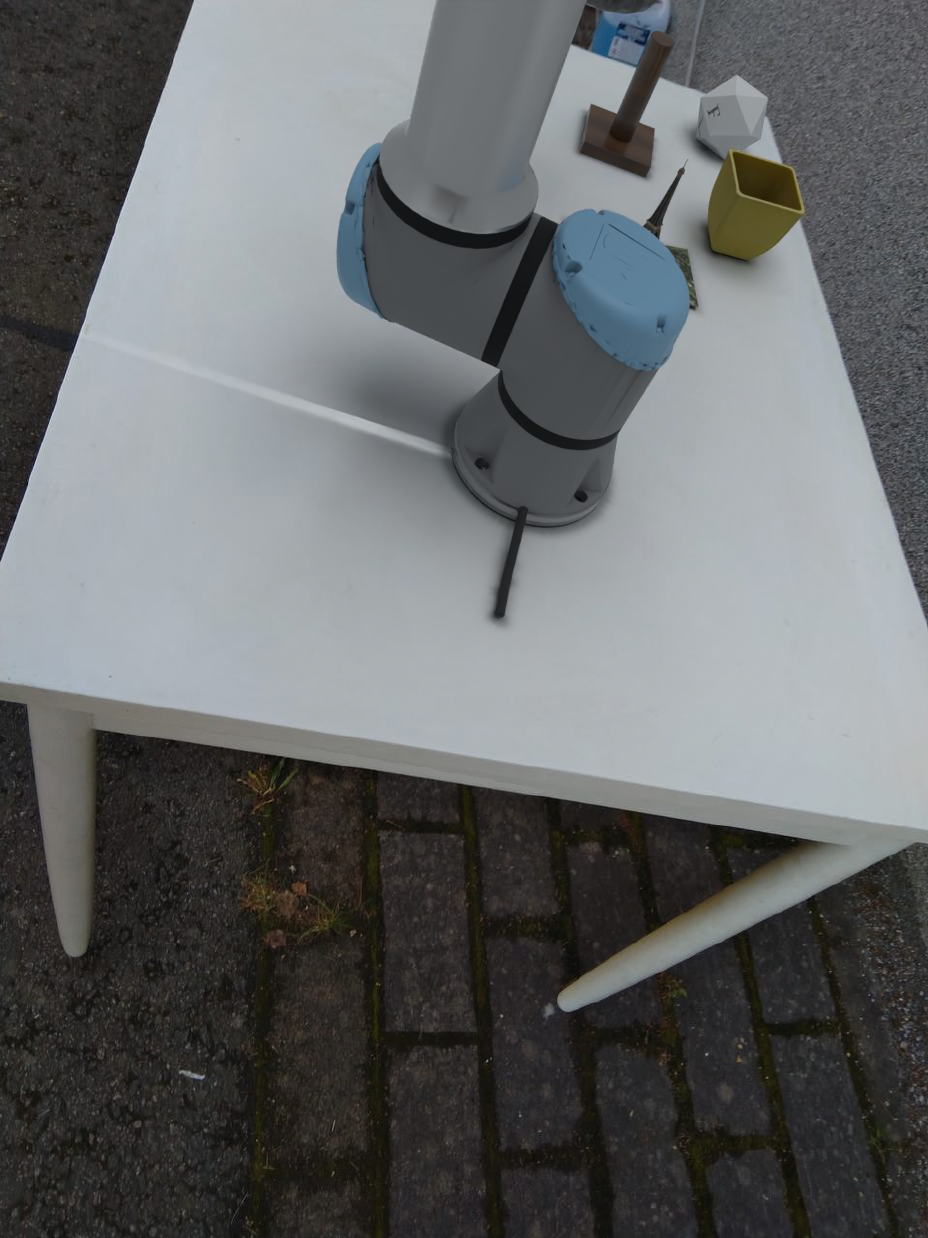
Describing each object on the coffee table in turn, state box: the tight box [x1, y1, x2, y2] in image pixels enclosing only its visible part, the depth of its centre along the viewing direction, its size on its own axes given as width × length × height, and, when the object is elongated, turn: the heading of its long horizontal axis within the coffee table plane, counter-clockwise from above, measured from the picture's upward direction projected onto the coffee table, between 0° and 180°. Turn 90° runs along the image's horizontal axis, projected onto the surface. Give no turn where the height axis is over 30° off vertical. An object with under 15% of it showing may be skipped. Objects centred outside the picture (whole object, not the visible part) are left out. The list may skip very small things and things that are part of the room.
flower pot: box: [707, 149, 805, 261], centre depth 108 cm, size 9×9×9 cm
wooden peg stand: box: [579, 30, 676, 178], centre depth 110 cm, size 9×9×14 cm
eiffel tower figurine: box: [642, 158, 699, 308], centre depth 98 cm, size 15×10×13 cm
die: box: [695, 74, 769, 161], centre depth 119 cm, size 8×9×10 cm
